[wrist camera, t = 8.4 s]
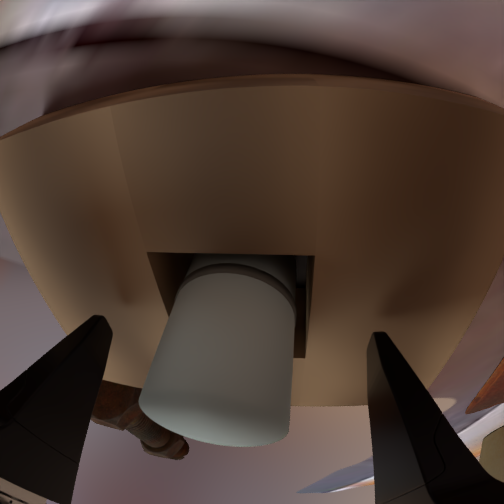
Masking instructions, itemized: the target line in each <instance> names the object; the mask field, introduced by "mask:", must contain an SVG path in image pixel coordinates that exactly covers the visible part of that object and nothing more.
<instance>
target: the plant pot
mask: <svg viewBox="0 0 504 504" xmlns="http://www.w3.org/2000/svg"><path fill="white" fill-rule="evenodd" d="M479 463H480V464H481V465H482V466H483V468H484V469H485V470H486V471H487V472H488V473H489V474H490V475H491V476H493V477H494V478H496V479H497V480H499V481H502V482H504V426H503V427H501V428H499V429H498V430H496V431H494V432H493V433H491V434H489V435H488V436H487V437H485V438H484V439H483V442H482V448H481V454H480V459H479Z"/></svg>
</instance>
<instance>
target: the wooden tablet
mask: <svg viewBox="0 0 504 504" xmlns="http://www.w3.org/2000/svg"><path fill="white" fill-rule="evenodd" d="M501 403H504V358H503V359H502V361H501V362H500V364H499V365H498V367H497V368H496V369H495V371H494V372H493V374H492V375H491V377H490V378H489V379H488V380H487V382H486V383H485V385H484V386H483V387H482V389H481V390H480V391H479V393H478V394H477V396H476V397H475V398H474V399H473V401H472V402H471V404H470V405H469V406H468V408H467V410H466V412H465V413H466V414H470V413H474V412H477V411H480V410H483V409H487V408H490V407H492V406H494V405H497V404H501Z"/></svg>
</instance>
